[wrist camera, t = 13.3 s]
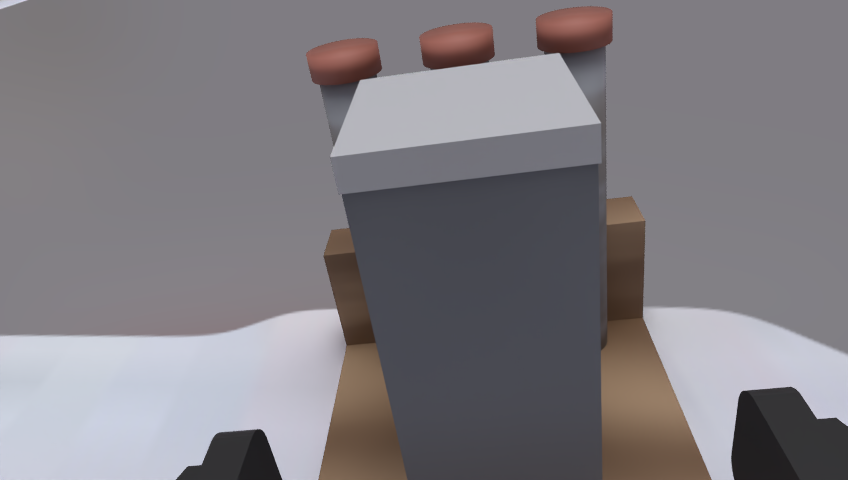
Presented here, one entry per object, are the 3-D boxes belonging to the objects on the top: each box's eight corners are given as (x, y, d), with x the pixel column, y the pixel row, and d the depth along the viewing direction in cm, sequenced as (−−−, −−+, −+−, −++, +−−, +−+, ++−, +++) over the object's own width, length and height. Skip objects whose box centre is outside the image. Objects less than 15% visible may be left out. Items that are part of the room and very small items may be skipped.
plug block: (605, 540, 18) (601, 123, 12) (421, 552, 18) (330, 157, 12) (573, 406, 22) (559, 52, 16) (426, 418, 23) (360, 80, 17)
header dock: (809, 733, 14) (969, 208, 8) (270, 749, 15) (28, 307, 9) (630, 300, 28) (635, -14, 22) (355, 327, 29) (284, 36, 23)
